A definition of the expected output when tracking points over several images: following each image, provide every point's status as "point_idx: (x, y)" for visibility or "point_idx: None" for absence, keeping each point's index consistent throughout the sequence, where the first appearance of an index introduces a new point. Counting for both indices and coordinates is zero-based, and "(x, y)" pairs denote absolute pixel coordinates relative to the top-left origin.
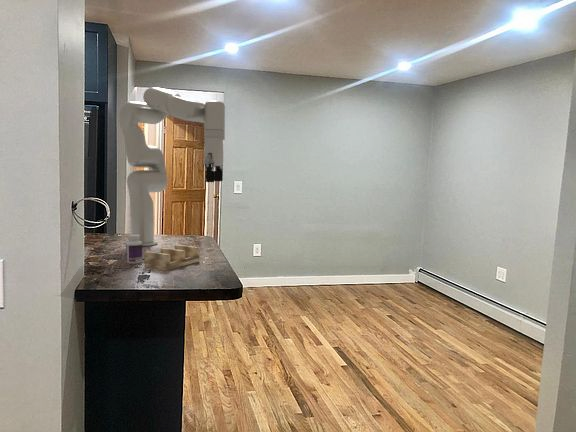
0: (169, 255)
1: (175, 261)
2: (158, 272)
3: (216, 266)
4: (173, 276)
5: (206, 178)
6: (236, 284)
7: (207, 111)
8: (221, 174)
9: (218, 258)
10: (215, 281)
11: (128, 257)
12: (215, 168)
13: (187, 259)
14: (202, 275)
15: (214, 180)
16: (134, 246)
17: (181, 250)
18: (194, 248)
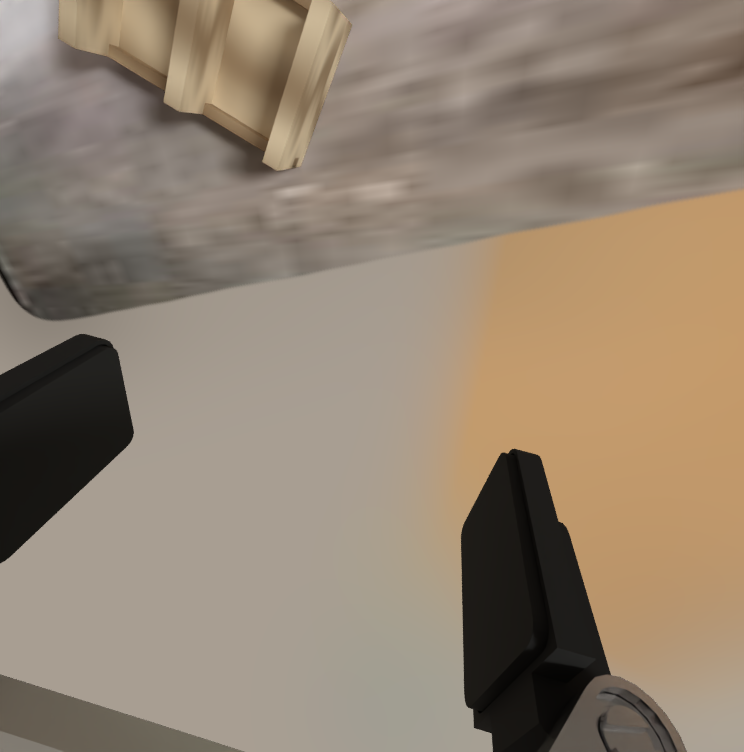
0: (73, 46)
1: (145, 74)
2: None
3: (232, 250)
4: (49, 107)
5: (43, 368)
6: (62, 317)
7: None
8: (463, 631)
9: (369, 246)
10: (61, 263)
11: None
12: (549, 746)
13: (218, 122)
14: (104, 215)
15: (115, 452)
16: None
17: (175, 88)
18: (269, 146)
